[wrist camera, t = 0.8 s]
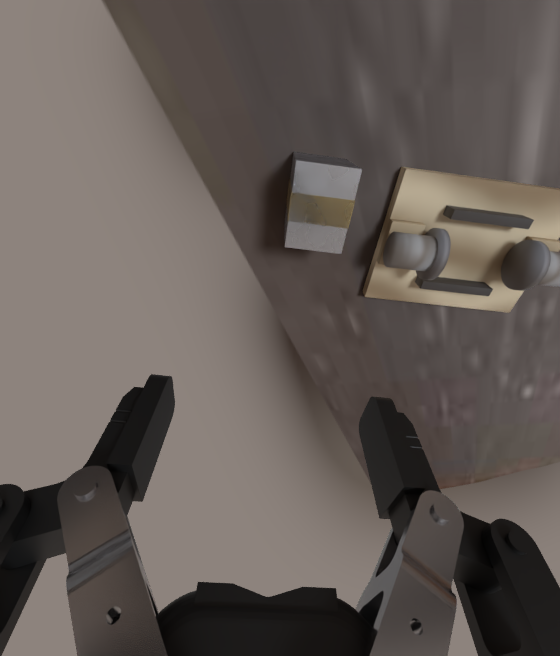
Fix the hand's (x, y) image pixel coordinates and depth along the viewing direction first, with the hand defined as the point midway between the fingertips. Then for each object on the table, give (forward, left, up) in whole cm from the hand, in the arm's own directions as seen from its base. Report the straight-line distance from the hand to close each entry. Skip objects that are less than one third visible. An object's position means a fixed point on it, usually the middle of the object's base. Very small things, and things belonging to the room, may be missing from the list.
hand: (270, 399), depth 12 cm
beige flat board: (-1, +18, -20) cm, 27 cm away
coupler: (-4, +3, -21) cm, 21 cm away
